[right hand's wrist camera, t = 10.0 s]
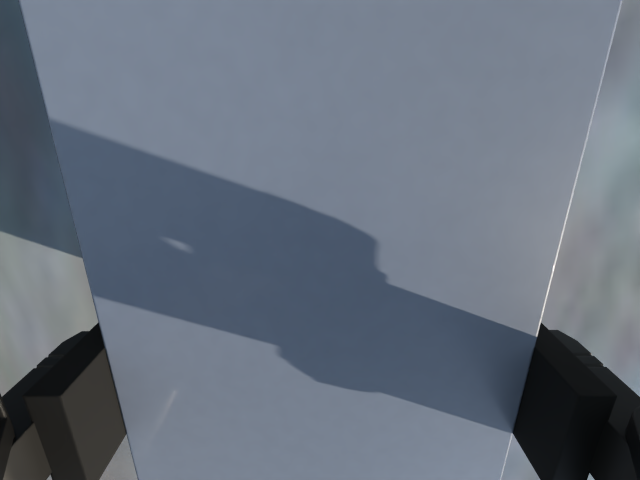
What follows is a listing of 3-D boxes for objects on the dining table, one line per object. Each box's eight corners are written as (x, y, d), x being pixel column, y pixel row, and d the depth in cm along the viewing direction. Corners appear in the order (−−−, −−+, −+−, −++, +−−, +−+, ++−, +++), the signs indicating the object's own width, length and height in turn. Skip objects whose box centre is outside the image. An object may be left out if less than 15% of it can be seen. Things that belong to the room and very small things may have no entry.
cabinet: (181, -182, 13) (-265, -1119, 3) (459, -181, 13) (909, -1114, 3) (229, 308, 20) (142, 502, 10) (409, 308, 20) (496, 502, 10)
